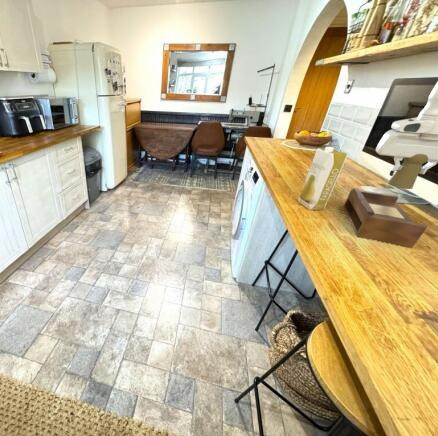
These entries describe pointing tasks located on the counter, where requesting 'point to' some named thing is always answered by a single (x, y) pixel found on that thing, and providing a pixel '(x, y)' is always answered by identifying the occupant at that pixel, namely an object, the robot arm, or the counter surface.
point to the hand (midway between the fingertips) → (407, 171)
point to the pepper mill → (408, 172)
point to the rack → (381, 218)
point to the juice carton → (322, 178)
